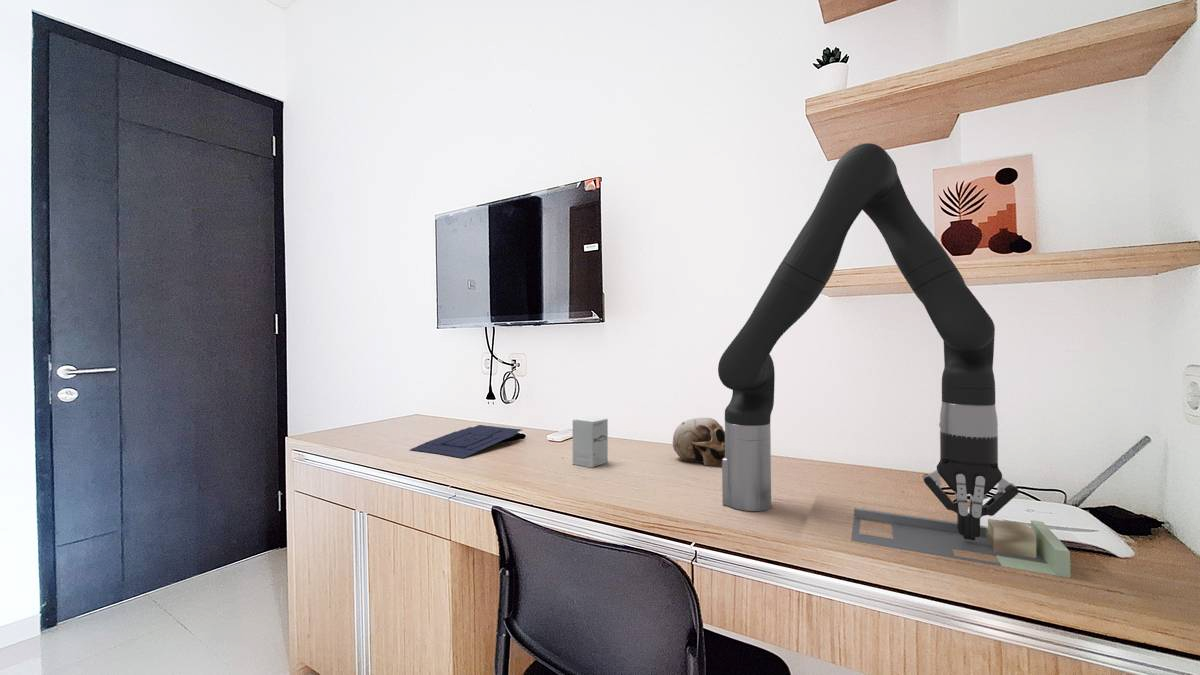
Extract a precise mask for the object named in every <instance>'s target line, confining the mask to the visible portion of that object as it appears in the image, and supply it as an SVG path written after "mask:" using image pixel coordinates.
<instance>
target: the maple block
mask: <svg viewBox="0 0 1200 675" xmlns="http://www.w3.org/2000/svg"><path fill="white" fill-rule="evenodd" d="M987 527H988V541H989V543H990V544H991V546H992V548H993V550H994V552H1000V553H1007V554H1013V555H1019V556H1025V557H1032V558H1036V534H1035V533H1034V532H1033V530H1032V529H1031V526H1029V524H1028V523H1023V522H1016V521H1015V522H1014V521H1008V520H1000V519H993V518H987Z"/></svg>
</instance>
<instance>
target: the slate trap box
mask: <svg viewBox="0 0 1200 675" xmlns="http://www.w3.org/2000/svg"><path fill="white" fill-rule="evenodd" d="M853 511H854V512H853V514H854V515H853V525H852V531H851V537H850V538H851V540H850V541H851V542H856V543H863V544H869V545H874V546H881V547H886V548H893V549H897V550H898V549H899V550H904V551H910V552H915V553H922V554H927V555H934V556H940V557H944V558H945V557H946V558H949V559H957V560H962V561H964V560H965V561H969V562H975V563H981V564H986V565H992V566H998V567H1002V568H1003V567H1006V568H1010V569H1011V568H1012V569H1016V570H1022V571H1029V572H1033V573H1034V572H1035V573H1039V574H1045V575H1051V576H1056V577H1057V576H1058V577H1064V578H1071V551H1070V550H1069V549H1068V548H1067V547H1066V546H1065V544H1064V543H1063V542H1062V541H1061V540H1060V539H1059V538H1058V536H1056V535H1055V533H1054V532H1053V531H1052V530H1051V529H1050V528H1049V527H1048V526H1047V524H1045V522H1044V521H1039V520H1032V519H1031V520H1030V528H1031V529H1032V530H1033V532H1034V533H1035V534H1036V558H1032V557H1025V556H1019V555H1013V554H1007V553H1000V552H994V550H993V548H992V546H991V544H990V543H989V541H988V525H987V526H986V525H980V536H979V537H975V540H970V539H969V540H968V539H964V538H963V535H960V533H959V531H958V529H957V522H956V521H951V520H945V519H944V520H943V519H936V518H931V517H921V516H914V515H908V514H907V515H906V514H900V513H894V512H893V513H892V512H885V511H879V510H872V509H865V508H857V507H854V508H853ZM861 520H866V521H873V522H879V523H886V524H891V530H892V538H890V537H884V536H879V535H871V534H866V533H860V528H861V527H860V525H861ZM954 550H958V551H965V552H969V553H977V554H981V555H982V554H983V555H989V556H995V557H996V559H997V560H998V562H996V561H990V560H984V559H983V560H982V559H979V558H972V557H971V558H970V557H966V556H958V555H955V553H954Z"/></svg>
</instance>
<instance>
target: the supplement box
mask: <svg viewBox="0 0 1200 675" xmlns="http://www.w3.org/2000/svg"><path fill="white" fill-rule="evenodd" d="M608 424H609V423H608V418H605V417H596V416H586V417H581V418H576V419H573V420H572V464H573V465H575V466H581V467H586V468H591V469H592V468H595V467H598V466H600V465H603V464H608V456H609V455H608V453H609V451H608V450H609V449H608V448H609V447H608V446H609V444H608V440H609V439H608V438H609V437H608V435H609V433H608Z"/></svg>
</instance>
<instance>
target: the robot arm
mask: <svg viewBox="0 0 1200 675" xmlns="http://www.w3.org/2000/svg"><path fill="white" fill-rule="evenodd" d="M907 195H908V194H906V191H905V189H904V185H903V183H902V182H901V179H900V176H899V174H898V170H897V166H896V163H895V161H894V160H893V159H892V157H891V156H890V155H889V154H888V151H886V150H885V149H884V148H883V147H881V146H879V145H878V144H876V143H868V142H866V143H861V144H859V145H855V146H854V147H852V148H851V149H849V150H846V152H845V153H844V154H843V155H842V156H841V157H840V158H839V159H838V161H837V162H836V164H835V166H834V168H833V169H832V172H831V174H830V175H829V178H828V179H827V183H826V185H825V187H824V189H823V191H822V193H821V194H820V197H819V199H818V201H817V203H816V206H815V207H814V209H813V211H812V213H811V215H809V218H808V219H807V221H806V223H805V224H804V226H803V227H802V229H801V230H800V232H799V233H798V235H797V237H796V238H795V240H794V241H793V243H792V245H791V246H790V248H789V250H788V251H787V253H786V254H785V256H784V258H783V259H782V261H781V262H780V264H779V265H778V267H777V269H776V271H775V272H774V274H773V276H772V278H771V279H770V281H769V283H768V285H767V286H766V289H765V290H764V291H763V293H762V295H761V297H760V298H759V300H758V301H757V303H756V304H755V307H754V308H753V310H752V312H751V314H750V316H749V317H748V318H747V321H746V322H745V324H744V325H743V326H742V328H741V329H740V330H739V332H737V334H736V336H735V337H734V338H733V340H732V341H731V342H730V344H729V345H728V346H727V347H726V349H725V350H724V352H723V353H722V355H721V356H720V359H719V361H718V366H717V372H718V377H719V381H720V382H721V384H722V385H723V386H724V387H725V388H727V389H729V390H732V396H731V399H730V402H729V403H728V405H727V406H726V408H725V409H724V431H725V458H723V460H722V466H721V470H722V471H721V472H722V474H721V475H722V476H721V477H722V478H721V479H722V487H721V489H722V505H723V506H728V507H731V508H733V509H736V510H740V511H746V512H747V511H748V512H760V511H766V510H769V509H770V508H772V456H771V455H772V454H771V453H772V451H771V449H772V448H771V447H772V446H771V441H772V440H771V436H772V434H771V417H772V416H771V415H772V412H773V409H774V404H775V380H776V378H775V377H776V376H775V364H774V361H773V358H772V356H771V352H772V351H773V348H774V347H775V345H776V344H777V343H778V341H779V340H780V339H781V337H782V336H783V335H784V334H785V333H786V332H787V331H788V330H789V329H790V328H791V327H792V326H793V325H794V324H795V323H797V321H798V320H800V318H801V317H803V315H805V314H806V313H807V312H808V311H809V309H810V308H811V307H812V306H813V304H814V303H815V302H816V301H817V299H818V297H819V296H820V294H821V293H822V291H823V290H824V288H825V287H826V285H827V283H828V282H829V280H830V279H831V277H832V276H833V273H834V270H835V268H836V266H837V263H838V261H839V258H840V256H841V255H840V254H841V252H842V248H843V245H844V243H845V240H846V237H847V235H848V234H849V230H850V228H851V227H852V225H853V224H854V222H855V221H856V219H857V218H858V216H859V215H860V214H861V212H864V213H865V214H866V215H867V217H868V218H869V219H870V220H871V221H872V223H873V224H874V225H875V227H876V228H877V229H878V230H879V232H880V234H881V235H882V237H883V239H884V241H885V243H886V245H887V247H888V249H889V252H890V254H891V256H892V258H893V260H894V262H895V263H896V265H897V267H898V270H899V271H900V273H901V274H902V276H903V278H904V279H905V281H906V282H907V284H908V286H909V287H910V289H911V290H912V291H913V293H914V294H915V296H916V297H917V298H918V300H919V301H920V302H921V303H922V305H923V306H924V308H925V310H926V312H927V314H928V317H929V318H930V320H931V321H932V324H933V326H934V328H935V329H936V331H937V333H938V334H939V336H940V337H941V339H942V340H943V341H942V342H943V360H944V369H943V370H942V376H941V408H940V414H939V423H938V426H939V440H940V441H939V444H940V446H939V449H940V450H939V451H940V453H939V455H940V458H939V462H938V463H937V465H936V470H934V471H933V472H930V473H929V474H928V473H925V474H923V476H922V479H923V480H922V481H923V482H924V484H925V485H926V486H927V487H928V489H929V490H930V491H931V492H932V493H933V494H934V496H935V497H936V498H937V499H938V501H939V502H940V503H941V505H943V506H944V507H945V509H947V510H948V511H951V512H954V513H956V514H957V529H958V531H959V533H960V535H963V538H964V539H968V540H969V539H970V540H975V537H979V536H980V526H981V519H982V517H984V516H985V517H986V516H989V517H993V516H995V515H996V514H997V513H998V512H999V511H1000V510H1002V508H1004V507H1005V506H1006V505H1007V504H1008V503H1009V502H1010V501H1012V499H1014V498H1015V497H1016V496H1017V495H1019V493H1020V490H1019V488H1018V487H1017V486H1016V485H1015V484H1014V483H1012V482H1009V481H1007V479H1005V478H1004V477H1003V473H1002V471H1001V470H1000V468H999V450H998V449H999V443H998V442H999V440H998V439H999V434H998V433H999V432H998V427H999V426H998V425H999V424H998V415H997V408H996V380H995V374H994V356H995V355H994V354H995V335H996V334H995V330H996V329H995V328H996V327H995V323H994V321H993V319H992V317H991V316H990V314H989V313H988V312H987V311H986V309H985V308H984V307H983V305H982V304H981V303H980V301H979V300H978V298H977V297H976V296H975V295H974V293H973V292H972V291H971V290H970V288H969V287H968V286H967V285H966V283H965V280H964V278H963V275H962V274H961V272H960V270H958V268H957V266H956V264H955V263H954V262H953V260H952V259H951V257H950V256H949V255H948V253H947V252H946V250H945V249H944V247H943V246H942V245H941V244H940V242H939V240H937V238H936V237H935V236H934V234H933V233H932V232H931V230H930V229H929V228H928V227H927V226H926V224H925V223H924V221H922V219H921V217H920V216H919V215H918V213H917V212H916V210H915V209H914V207H913V205H912V204H911V202H910V200H909V198H908V196H907ZM941 478H942V480H943V481H944V482H945V483H946V485H947V486H948V487H949V488H950V490H952V491H953V492H954V495H955V501H953V500H952V499H951V498H950V497H949V496H948V494H947V493H946V492H945V491H944V490H943V489H942V487H941V485H942V480H941ZM996 486H997V487H996ZM994 487H996V490H997V492H996V493H995V494H994V495H993V496H992V497H990V499H988V500H987V501H986V502H985V503H984V496H986V495H987V494H989V492H991V490H993V489H994ZM968 495H969V509H968ZM983 503H984V504H983Z"/></svg>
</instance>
